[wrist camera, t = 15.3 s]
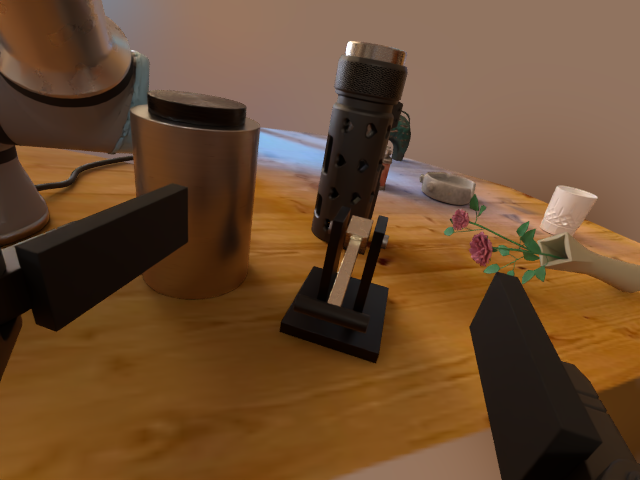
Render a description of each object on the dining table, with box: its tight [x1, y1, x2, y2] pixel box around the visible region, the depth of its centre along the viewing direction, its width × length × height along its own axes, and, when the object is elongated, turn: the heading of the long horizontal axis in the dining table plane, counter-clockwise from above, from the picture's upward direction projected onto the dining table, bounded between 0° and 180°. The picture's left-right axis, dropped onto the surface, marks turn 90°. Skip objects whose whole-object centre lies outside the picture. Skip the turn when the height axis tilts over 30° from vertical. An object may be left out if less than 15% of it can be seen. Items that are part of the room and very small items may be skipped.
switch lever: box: [294, 215, 373, 333], centre depth 31 cm, size 12×6×2 cm, turn 165°
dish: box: [420, 172, 476, 205], centre depth 88 cm, size 14×14×5 cm
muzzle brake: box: [311, 41, 407, 245], centre depth 51 cm, size 10×28×10 cm
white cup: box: [540, 186, 598, 236], centre depth 76 cm, size 8×8×10 cm
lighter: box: [379, 146, 392, 190], centre depth 86 cm, size 8×3×10 cm, turn 179°
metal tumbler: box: [130, 90, 260, 299], centre depth 37 cm, size 12×12×20 cm
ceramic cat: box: [389, 111, 411, 161], centre depth 116 cm, size 20×6×20 cm, turn 107°
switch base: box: [280, 206, 389, 363], centre depth 36 cm, size 12×10×12 cm
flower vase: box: [444, 194, 640, 293], centre depth 52 cm, size 12×12×35 cm
